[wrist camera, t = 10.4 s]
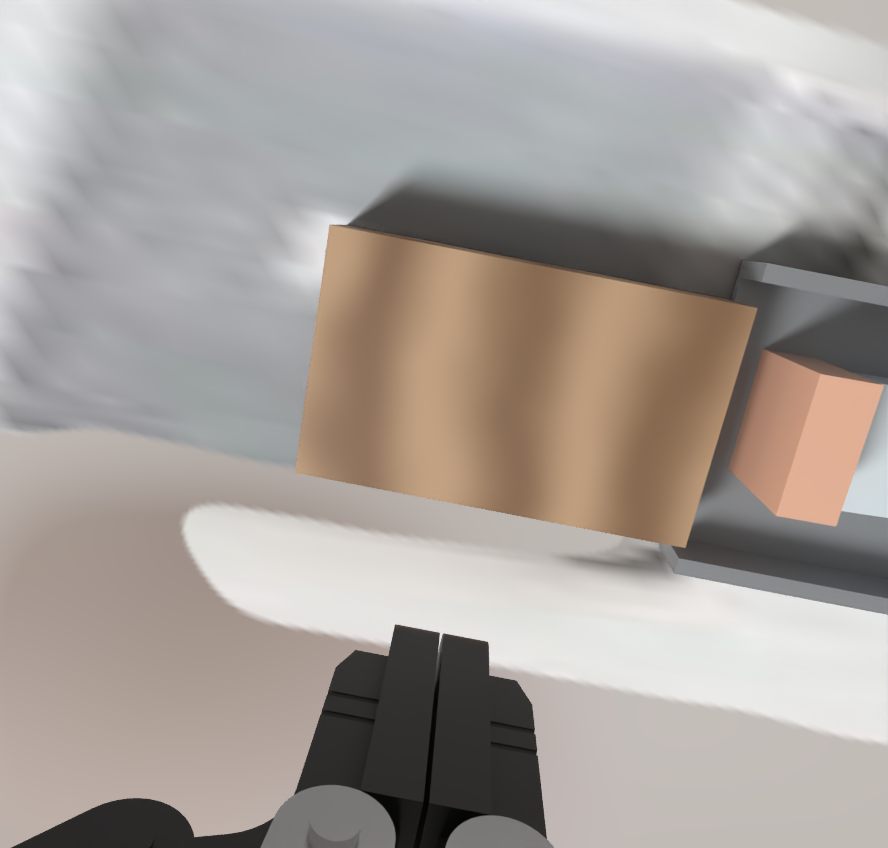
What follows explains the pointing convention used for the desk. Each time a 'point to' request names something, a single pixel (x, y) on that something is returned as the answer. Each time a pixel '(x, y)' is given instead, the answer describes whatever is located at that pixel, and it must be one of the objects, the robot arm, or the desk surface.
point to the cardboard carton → (517, 384)
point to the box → (724, 496)
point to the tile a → (803, 435)
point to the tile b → (872, 464)
